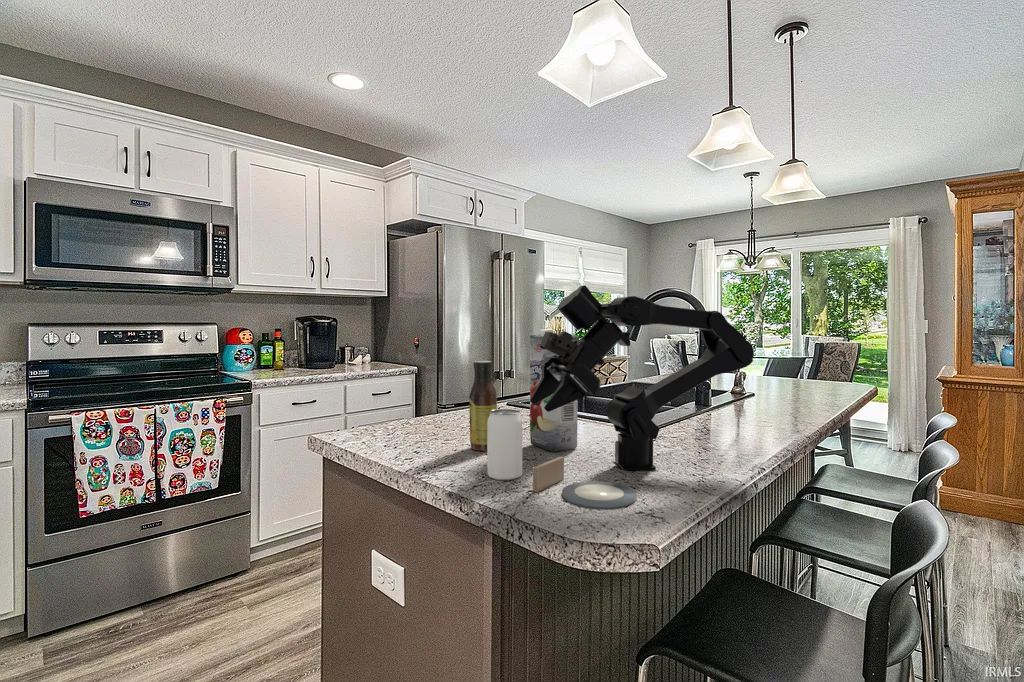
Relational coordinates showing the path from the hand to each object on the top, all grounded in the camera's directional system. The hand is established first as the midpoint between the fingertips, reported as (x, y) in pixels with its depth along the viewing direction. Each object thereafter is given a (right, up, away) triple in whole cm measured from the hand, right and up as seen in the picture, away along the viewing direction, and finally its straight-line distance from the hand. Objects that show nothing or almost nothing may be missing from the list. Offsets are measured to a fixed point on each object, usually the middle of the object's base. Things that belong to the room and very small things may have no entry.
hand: (538, 406), depth 98 cm
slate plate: (+9, -13, -12) cm, 20 cm away
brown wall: (+1, -13, -7) cm, 15 cm away
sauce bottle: (-11, -12, +20) cm, 26 cm away
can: (-6, -13, -1) cm, 14 cm away
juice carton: (+5, -12, +21) cm, 25 cm away
